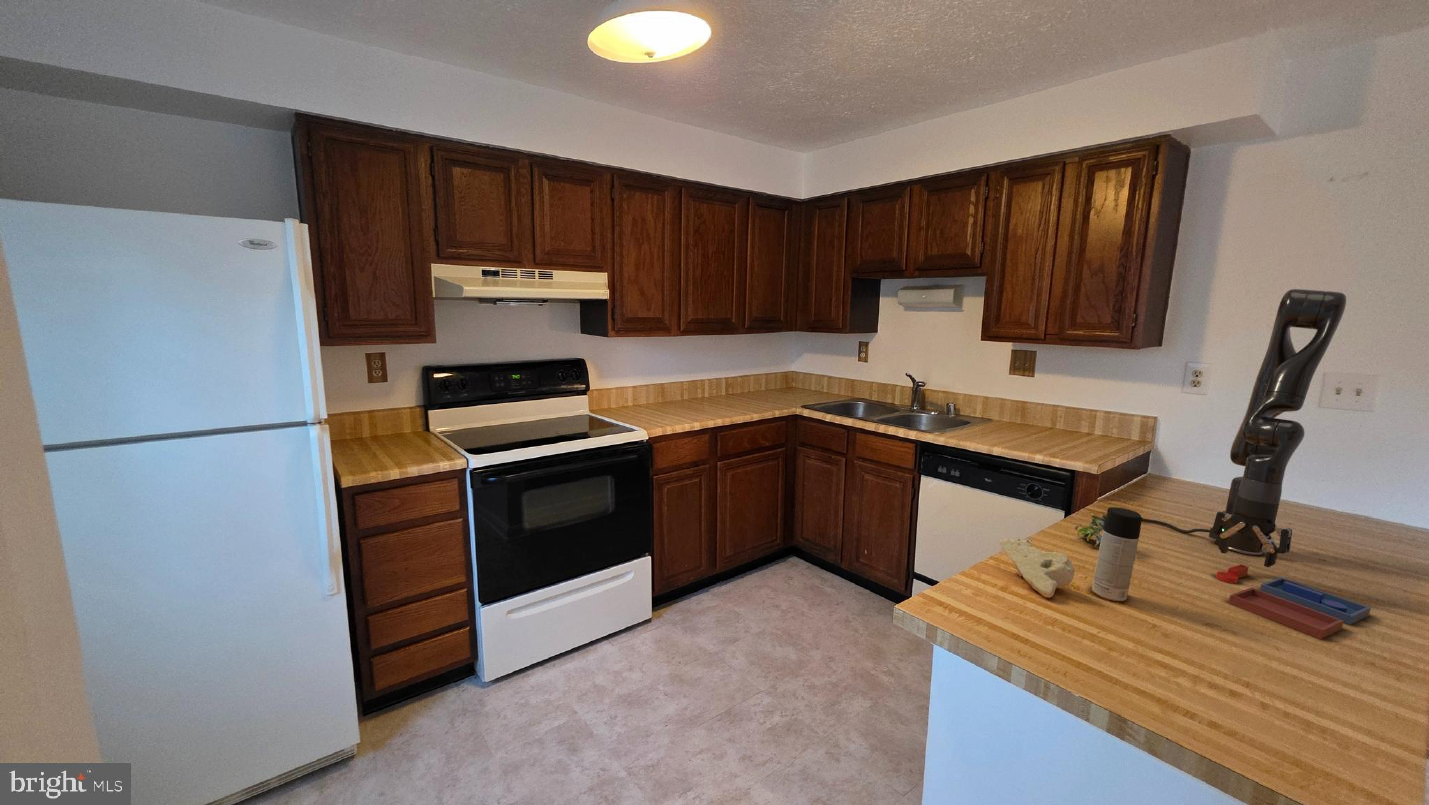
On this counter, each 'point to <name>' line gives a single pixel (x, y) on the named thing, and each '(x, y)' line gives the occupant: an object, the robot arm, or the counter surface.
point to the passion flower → (1090, 530)
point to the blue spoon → (1312, 596)
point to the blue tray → (1350, 617)
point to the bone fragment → (1039, 566)
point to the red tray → (1286, 612)
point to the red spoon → (1233, 574)
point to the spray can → (1117, 554)
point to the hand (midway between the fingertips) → (1244, 559)
